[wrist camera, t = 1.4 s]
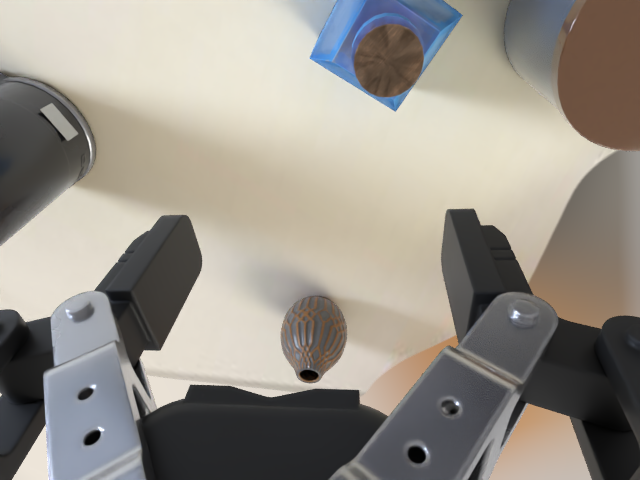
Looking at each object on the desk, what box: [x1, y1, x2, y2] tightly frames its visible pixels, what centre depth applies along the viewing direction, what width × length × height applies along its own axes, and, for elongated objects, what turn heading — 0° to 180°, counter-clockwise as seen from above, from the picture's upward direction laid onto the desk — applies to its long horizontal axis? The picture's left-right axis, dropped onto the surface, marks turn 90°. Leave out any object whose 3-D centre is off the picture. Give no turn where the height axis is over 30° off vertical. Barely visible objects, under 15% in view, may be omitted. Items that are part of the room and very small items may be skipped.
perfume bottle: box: [310, 0, 463, 112], centre depth 23 cm, size 6×6×12 cm
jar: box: [504, 0, 640, 151], centre depth 23 cm, size 10×10×10 cm
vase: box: [281, 296, 347, 383], centre depth 42 cm, size 7×7×9 cm
